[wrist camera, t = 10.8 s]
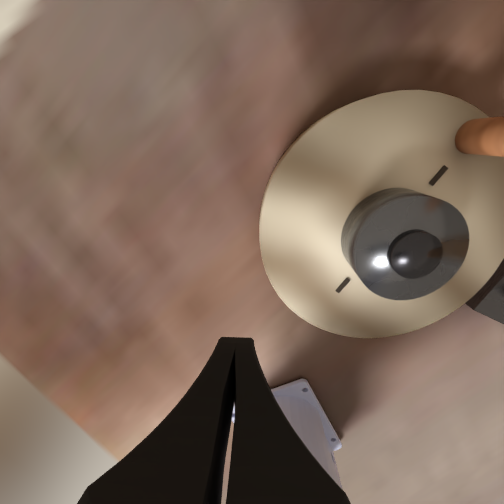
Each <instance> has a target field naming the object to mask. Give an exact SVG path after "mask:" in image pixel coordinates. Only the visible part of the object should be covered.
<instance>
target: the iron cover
mask: <svg viewBox="0 0 504 504" xmlns="http://www.w3.org/2000/svg"><path fill="white" fill-rule="evenodd" d="M341 247H342V252H343V255H344V257H345V259H346V261H347V262H348V264H349V265H350V266H351V268H352V269H353V270H354V272H355V273H356V274H357V276H358V277H359V278H360V280H361V281H362V282H363V284H364V285H365V286H366V287H367V288H368V289H369V290H370V291H372V292H373V293H375V294H376V295H378V296H380V297H383V298H386V299H391V300H411V299H416V298H420V297H423V296H426V295H428V294H430V293H432V292H434V291H436V290H437V289H439V288H441V287H442V286H443V285H445V284H446V283H447V282H448V281H449V280H450V279H451V278H452V277H453V276H454V275H455V274H456V273H457V271H458V270H459V269H460V267H461V265H462V264H463V262H464V260H465V257H466V255H467V251H468V247H469V230H468V226H467V223H466V220H465V219H464V217H463V215H462V214H461V213H460V212H459V210H458V209H457V208H455V207H454V206H453V205H451V204H450V203H448V202H446V201H444V200H441V199H438V198H435V197H432V196H429V195H426V194H423V193H420V192H417V191H414V190H411V189H407V188H389V189H384V190H381V191H378V192H376V193H373V194H371V195H370V196H368V197H366V198H365V199H363V200H362V201H361V202H360V203H359V204H358V205H356V206H355V208H354V209H353V210H352V211H351V213H350V214H349V216H348V217H347V219H346V221H345V223H344V226H343V229H342V234H341Z"/></svg>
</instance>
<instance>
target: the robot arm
mask: <svg viewBox="0 0 504 504" xmlns="http://www.w3.org/2000/svg"><path fill="white" fill-rule="evenodd" d="M303 388H306V389H303ZM234 401H235V403H234ZM231 420H232V421H233V423H234V430H233V441H232V451H231V462H230V471H229V481H228V490H227V499H226V504H351V503H350V501H349V499H348V497H347V495H346V493H345V492H344V491H343V489H342V485H341V481H340V477H339V473H338V469H337V465H336V461H335V457H334V453H333V451H334V450H337V449H340V448H341V447H342V444H341V441H340V439H339V437H338V435H337V434H336V432H335V430H334V428H333V426H332V424H331V423H330V421H329V419H328V417H327V415H326V414H325V412H324V410H323V408H322V406H321V405H320V403H319V401H318V399H317V397H316V396H315V394H314V392H313V390H312V388H311V387H310V385H309V383H308V381H307V380H306V379H299V380H296V381H293V382H291V383H288V384H285V385H282V386H279V387H277V388H274V389H270V387H269V385H268V383H267V381H266V379H265V376H264V374H263V371H262V369H261V366H260V364H259V361H258V358H257V355H256V351H255V347H254V340H253V339H252V338H237V337H221V338H220V339H219V341H218V343H217V345H216V347H215V349H214V351H213V353H212V355H211V357H210V359H209V360H208V362H207V364H206V365H205V367H204V368H203V370H202V372H201V373H200V375H199V376H198V378H197V379H196V380H195V382H194V383H193V385H192V386H191V387H190V389H189V390H188V391H187V393H186V394H185V395H184V397H183V398H182V399H181V400H180V402H179V403H178V404H177V405H176V406H175V408H174V409H173V410H172V411H171V412H170V413H169V414H168V415H167V417H166V418H165V419H164V420H163V421H162V422H161V423H160V424H159V425H158V426H157V427H156V428H155V429H154V430H153V431H152V432H151V433H150V434H149V435H148V436H147V437H146V438H145V439H144V440H143V441H142V442H141V443H140V444H138V445H137V446H136V447H135V448H134V449H133V450H132V451H131V452H130V453H129V454H128V455H126V456H125V457H124V458H123V459H122V460H121V461H119V462H118V463H117V464H116V465H115V466H113V467H112V468H111V469H110V470H108V471H107V472H106V473H105V474H103V475H102V476H101V477H100V478H99V479H97V480H96V481H95V482H93V483H92V484H91V485H89V486H88V487H87V489H86V490H85V492H84V494H83V495H82V497H81V498H80V500H79V501H78V503H77V504H221V497H222V485H223V473H224V464H225V457H226V451H227V444H228V438H229V432H230V426H231Z"/></svg>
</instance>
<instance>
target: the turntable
mask: <svg viewBox="0 0 504 504" xmlns="http://www.w3.org/2000/svg"><path fill="white" fill-rule="evenodd" d="M389 188H407V189H411V190H414V191H417V192H420V193H423V194H426V195H429V196H432V197H435V198H438V199H441V200H444V201H446V202H448V203H450V204H451V205H453V206H454V207H455V208H457V209H458V210H459V212H460V213H461V214H462V215H463V217H464V219H465V220H466V223H467V226H468V230H469V247H468V251H467V255H466V257H465V260H464V262H463V264H462V265H461V267H460V269H459V270H458V271H457V273H456V274H455V275H454V276H453V277H452V278H451V279H450V280H449V281H448V282H447V283H446V284H445V285H443V286H442V287H441V288H439V289H437V290H436V291H434V292H432V293H430V294H428V295H426V296H423V297H420V298H416V299H411V300H391V299H386V298H383V297H380V296H378V295H376V294H375V293H373V292H372V291H370V290H369V289H368V288H367V287H366V286H365V285H364V284H363V282H362V281H361V280H360V278H359V277H358V276H357V274H356V273H355V272H354V270H353V269H352V268H351V266H350V265H349V264H348V262H347V261H346V259H345V257H344V255H343V252H342V247H341V234H342V229H343V226H344V223H345V221H346V219H347V217H348V216H349V214H350V213H351V211H352V210H353V209H354V208H355V206H356V205H358V204H359V203H360V202H361V201H362V200H363V199H365V198H366V197H368V196H370V195H371V194H373V193H376V192H378V191H381V190H384V189H389ZM259 239H260V249H261V256H262V261H263V264H264V268H265V271H266V274H267V276H268V278H269V280H270V282H271V285H272V286H273V288H274V289H275V291H276V293H277V294H278V296H279V297H280V298H281V299H282V301H283V302H284V303H285V304H286V305H287V306H288V307H289V308H290V309H291V310H292V311H293V312H294V313H295V314H297V315H298V316H299V317H301V318H302V319H304V320H305V321H307V322H308V323H310V324H312V325H314V326H316V327H318V328H320V329H322V330H325V331H328V332H331V333H333V334H338V335H342V336H347V337H355V338H382V337H391V336H396V335H400V334H405V333H408V332H411V331H415V330H418V329H421V328H423V327H425V326H428V325H430V324H432V323H434V322H436V321H438V320H440V319H442V318H444V317H445V316H447V315H449V314H450V313H452V312H453V311H455V310H456V309H458V308H459V307H461V306H462V305H463V304H464V303H466V302H467V301H468V300H469V299H470V298H472V297H473V296H474V295H475V294H476V293H477V292H478V291H479V290H480V289H481V288H482V287H483V286H484V285H485V284H486V282H487V281H488V280H489V279H490V277H491V276H492V275H493V274H494V272H495V271H496V270H497V268H498V267H499V265H500V263H501V262H502V260H503V259H504V117H492V118H490V117H489V116H488V115H486V114H485V113H483V112H482V111H481V110H479V109H478V108H477V107H475V106H474V105H472V104H470V103H468V102H466V101H464V100H462V99H460V98H457V97H454V96H450V95H447V94H444V93H440V92H433V91H426V90H399V91H393V92H387V93H381V94H377V95H374V96H371V97H368V98H364V99H361V100H358V101H355V102H353V103H350V104H348V105H345V106H343V107H341V108H339V109H337V110H334V111H332V112H331V113H329V114H327V115H326V116H324V117H323V118H321V119H319V120H318V121H316V122H315V123H314V124H313V125H311V126H310V127H309V128H308V129H306V130H305V131H304V132H303V133H302V134H301V135H300V136H299V137H298V138H297V139H296V140H295V141H294V142H293V143H292V144H291V145H290V147H289V148H288V149H287V151H286V152H285V153H284V155H283V156H282V157H281V159H280V160H279V162H278V164H277V165H276V167H275V169H274V171H273V172H272V174H271V176H270V179H269V181H268V184H267V186H266V189H265V192H264V196H263V199H262V203H261V209H260V217H259Z"/></svg>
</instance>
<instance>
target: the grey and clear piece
mask: <svg viewBox="0 0 504 504" xmlns="http://www.w3.org/2000/svg"><path fill="white" fill-rule="evenodd" d="M466 304H467V305H468V306H469V307H471V308H472V309H473V310H475V311H477V312H479V313H481V314H483V315H486V316H488V317H490V318H492V319H494V320H496V321H498V322H500V323H503V324H504V259H503V260H502V262H501V263H500V265H499V267H498V268H497V270H496V271H495V272H494V274H493V275H492V276H491V277H490V279H489V280H488V281H487V282H486V284H485V285H484V286H483V287H482V288H481V289H480V290H479V291H478V292H477V293H476V294H475V295H474V296H473V297H472V298H470V299H469V300H468V301H467V302H466Z"/></svg>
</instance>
